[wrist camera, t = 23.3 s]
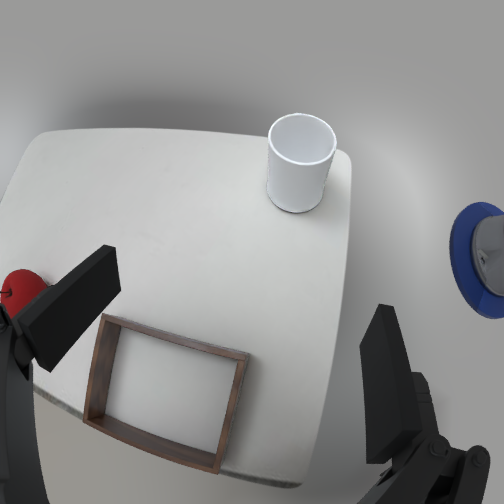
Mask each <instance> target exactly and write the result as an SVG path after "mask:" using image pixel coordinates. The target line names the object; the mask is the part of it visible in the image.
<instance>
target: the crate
mask: <svg viewBox="0 0 504 504" xmlns="http://www.w3.org/2000/svg"><path fill="white" fill-rule="evenodd" d="M121 326H123V327H126V328H129V329H132V330H135V331H138V332H141V333H144V334H147V335H150V336H153V337H156V338H159V339H163V340H166V341H169V342H173V343H176V344H179V345H183V346H186V347H190V348H194V349H197V350H201V351H205V352H209V353H213V354H217V355H221V356H225V357H229V358H233V359H237V360H238V364H237V368H236V372H235V377H234V381H233V385H232V390H231V394H230V398H229V402H228V407H227V411H226V415H225V419H224V424H223V428H222V432H221V436H220V440H219V445H218V449H217V453H216V454H213V453H209V452H206V451H202V450H198V449H195V448H192V447H188V446H185V445H182V444H179V443H176V442H173V441H170V440H167V439H164V438H161V437H159V436H156V435H153V434H150V433H148V432H145V431H143V430H140V429H138V428H135V427H133V426H130V425H128V424H126V423H123V422H121V421H119V420H117V419H114V418H112V417H110V416H108V415H106V414H104V413H105V407H106V400H107V394H108V388H109V383H110V377H111V372H112V367H113V362H114V357H115V352H116V347H117V343H118V338H119V334H120V329H121ZM248 357H249V353H246V352H242V351H238V350H233V349H229V348H225V347H221V346H217V345H213V344H209V343H205V342H201V341H197V340H194V339H190V338H186V337H183V336H179V335H176V334H172V333H169V332H165V331H162V330H159V329H155V328H152V327H149V326H146V325H142V324H139V323H136V322H133V321H130V320H127V319H124V318H121V317H118V316H113V315H109V314H105V313H102V316H101V320H100V324H99V329H98V333H97V338H96V342H95V347H94V352H93V357H92V362H91V368H90V373H89V379H88V385H87V392H86V399H85V406H84V414H83V423H86V424H87V425H89V426H91V427H93V428H95V429H97V430H99V431H101V432H103V433H105V434H107V435H109V436H111V437H113V438H115V439H117V440H120V441H122V442H124V443H126V444H129V445H131V446H133V447H136V448H138V449H141V450H143V451H146V452H148V453H151V454H153V455H156V456H159V457H161V458H164V459H167V460H170V461H173V462H176V463H179V464H182V465H185V466H188V467H192V468H195V469H199V470H202V471H206V472H209V473H213V474H217V475H218V473H219V471H220V468H221V466H222V463H223V461H224V457H225V453H226V449H227V445H228V441H229V437H230V433H231V429H232V425H233V420H234V416H235V412H236V408H237V404H238V400H239V395H240V391H241V387H242V383H243V378H244V374H245V370H246V365H247V361H248Z"/></svg>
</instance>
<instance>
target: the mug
mask: <svg viewBox="0 0 504 504" xmlns="http://www.w3.org/2000/svg"><path fill="white" fill-rule="evenodd" d="M336 145H337V141H336V136H335V134H334V132H333V130H332V129H331V127H330V126H329V125H328V124H327V123H325V122H324V121H323V120H321V119H319V118H317V117H315V116H312V115H308V114H300V113H295V114H290V115H286V116H284V117H281V118H280V119H278V120H277V121H276V122H275V123H274V124H273V125H272V126H271V128H270V130H269V134H268V181H267V192H268V195H269V197H270V199H271V200H272V201H273V203H274V204H275V205H277V206H278V207H279V208H281V209H283V210H286V211H289V212H296V213H298V212H305V211H308V210H310V209H312V208H314V207H315V206H316V205H317V204H318V203H319V202H320V200H321V198H322V196H323V191H324V184H325V181H326V178H327V175H328V172H329V169H330V166H331V162H332V159H333V156H334V153H335V150H336Z"/></svg>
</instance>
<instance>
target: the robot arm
mask: <svg viewBox="0 0 504 504" xmlns="http://www.w3.org/2000/svg"><path fill="white" fill-rule="evenodd" d="M469 250H470V259H471V263H472V267H473V270H474V273H475V275H476V277H477V279H478V281H479V282H480V284H481V285H482V287H483V288H484V289H485V290H486V291H487V292H488V293H490V294H491V295H493V296H496V297H504V215H500V216H490V217H486V218H484V219H483V220H481V221H480V222H479V223H477V224H476V226H475V227H474V229H473V231H472V233H471V237H470V245H469ZM120 291H121V286H120V280H119V272H118V265H117V256H116V247H112V246H108V245H103V246H102V247H100V248H99V249H98V250H97V251H95V252H94V253H93V254H92V255H90V256H89V257H88V258H87V259H85V260H84V261H83V262H82V263H80V264H79V265H78V266H77V267H75V268H74V269H73V270H72V271H71V272H69V273H68V274H67V275H66V276H65V277H64V278H62V279H61V280H60V281H59V282H58V283H57V284H55V285H52V286H50V287H48V288H46V289H44V290H42V291H41V292H40V293H39V294H38V295H37V296H36V297H34V298H33V299H32V300H31V302H29V303H28V304H27V305H26V306H24V307H23V308H22V309H21V310H20V311H19V312H18V313H17V314H16V315H15V316H14V317H13V318H12V319H11V318H10V316H9V314H8V311H7V309H6V307H5V305H4V304H2V303H0V504H50V503H49V501H48V498H47V494H46V489H45V485H44V480H43V476H42V471H41V465H40V459H39V452H38V445H37V437H36V428H35V417H34V398H33V364H32V362H31V360H32V359H33V358H34V357H35V359H36V361H37V363H38V365H39V366H40V367H42V368H43V369H45V370H47V371H48V372H50V373H51V371H52V370H53V369H54V368H55V366H56V365H57V364H58V363H59V361H60V360H61V359H62V358H63V357H64V355H65V354H66V353H67V352H68V351H69V349H70V348H71V347H72V346H73V345H74V343H75V342H76V341H77V340H78V339H79V337H80V336H81V335H82V334H83V333H84V332H85V331H86V329H87V328H88V327H89V326H90V325H91V324H92V322H93V321H94V320H95V319H96V318H97V317H98V316H99V315H100V313H101V312H102V311H103V310H104V309H105V308H106V307H107V306H108V305H109V303H110V302H111V301H112V300H113V299H114V298H115V297H116V296H117V295H118V294H119V293H120ZM360 355H361V364H362V376H363V389H364V403H365V423H366V463H367V464H384V463H386V462H387V461H388V460H389V459H391V458H392V466H391V467H390V468H388V469H387V470H386V471H384V472H383V473H382V474H380V476H381V478H380V479H379V481H378V482H377V483H376V484H375V485H374V486H373V487H372V488H371V490H370V491H369V492H368V493H367V494H366V495H365V496H364V497H363V498H362V499H361V500H360V501H359V502H358V503H357V504H481V503H482V500H483V496H484V491H485V487H486V483H487V478H488V473H489V468H490V455H489V452H488V451H487V450H486V448H484V447H482V446H479V445H476V446H473V447H471V448H470V449H469V450H468V451H464V450H460V449H456V448H452V447H451V446H450V444H449V442H448V440H447V439H446V438H445V437H443V436H441V435H439V431H438V427H437V421H436V416H435V412H434V407H433V403H432V398H431V395H430V390H429V386H428V382H427V381H426V379H425V378H424V376H423V375H422V373H420V372H411V369H410V364H409V360H408V356H407V352H406V348H405V345H404V341H403V338H402V334H401V330H400V327H399V323H398V320H397V316H396V313H395V310H394V307H393V306H389V305H383V304H379V305H378V307H377V309H376V312H375V314H374V316H373V318H372V320H371V323H370V325H369V327H368V329H367V331H366V333H365V336H364V338H363V339H362V342H361V344H360Z"/></svg>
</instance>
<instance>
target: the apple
mask: <svg viewBox="0 0 504 504" xmlns="http://www.w3.org/2000/svg"><path fill="white" fill-rule="evenodd" d="M46 288H47V286H46V284H45V282H44V281H43V279H42V278H41V277H40V276H38V275H37V274H36V273H34V272H32V271H30V270H26V269H20V270H16V271H13V272H11V273H10V274H9V275H8V276H7V277H6V279H5V280H4V283H3V286H2V290H1V291H0V293H1V298H0V301H1V303H2V304H4V305H5V307H6V309H7V311H8V314H9V316H10V318H11V319H12V318H13V317H14V316H15V315H16V314H17V313H18V312H19V311H20V310H21V309H22V308H23V307H24V306H26V305H27V304H28V303H29V302H31V300H32V299H33V298H34V297H36V296H37V295H38V294H39V293H40V292H41V291H42V290H44V289H46Z"/></svg>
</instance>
